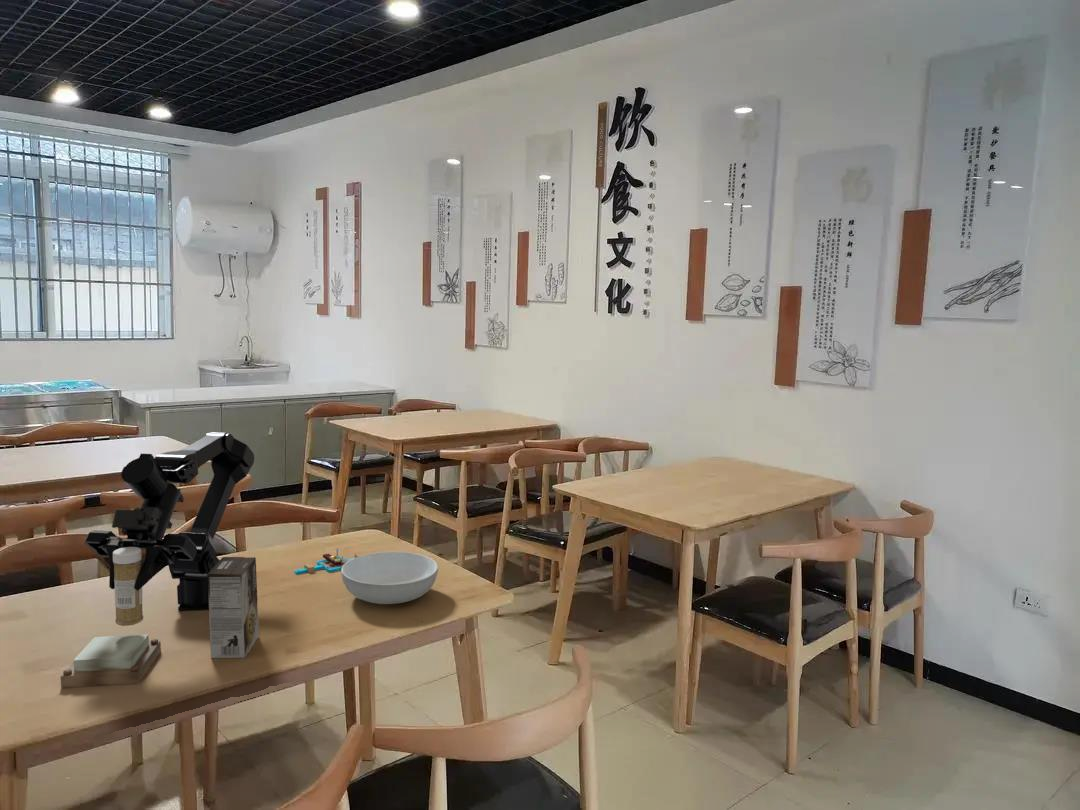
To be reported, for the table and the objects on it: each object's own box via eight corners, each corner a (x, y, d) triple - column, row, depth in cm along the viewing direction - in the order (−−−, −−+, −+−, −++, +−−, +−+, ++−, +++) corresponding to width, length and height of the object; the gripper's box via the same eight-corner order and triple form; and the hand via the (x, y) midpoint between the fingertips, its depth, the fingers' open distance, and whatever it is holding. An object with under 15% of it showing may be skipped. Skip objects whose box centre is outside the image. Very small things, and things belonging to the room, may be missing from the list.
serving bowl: (371, 624, 156) (371, 591, 155) (324, 593, 171) (324, 563, 170) (456, 599, 169) (456, 569, 168) (406, 573, 185) (406, 545, 184)
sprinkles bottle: (149, 618, 141) (147, 547, 139) (131, 628, 137) (129, 555, 135) (127, 615, 142) (124, 544, 140) (108, 625, 138) (106, 552, 136)
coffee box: (225, 637, 148) (222, 556, 146) (259, 636, 149) (257, 555, 147) (209, 659, 139) (205, 573, 137) (245, 658, 140) (243, 572, 138)
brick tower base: (160, 651, 142) (159, 630, 141) (138, 683, 130) (137, 660, 130) (90, 654, 140) (88, 634, 139) (61, 687, 128) (59, 665, 128)
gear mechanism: (286, 569, 187) (301, 580, 180) (286, 547, 186) (301, 558, 179) (362, 553, 199) (379, 563, 192) (362, 533, 199) (379, 542, 191)
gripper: (87, 487, 141) (49, 566, 131) (186, 491, 139) (154, 571, 130) (116, 517, 150) (82, 593, 140) (209, 521, 148) (181, 598, 139)
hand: (123, 588), depth 137 cm, fingers closed on sprinkles bottle, 4 cm apart
